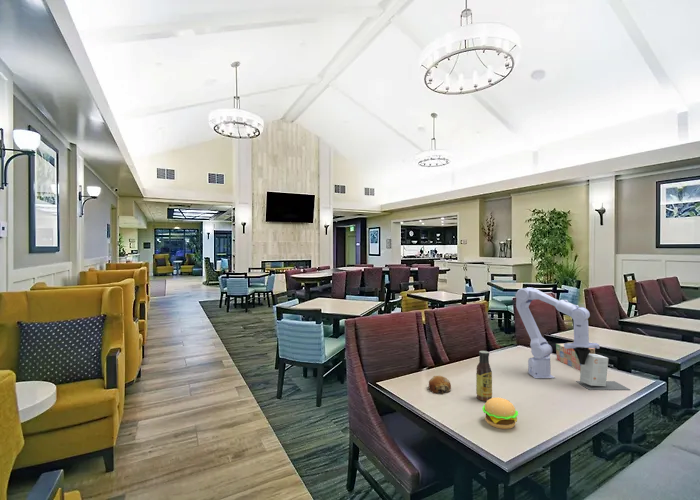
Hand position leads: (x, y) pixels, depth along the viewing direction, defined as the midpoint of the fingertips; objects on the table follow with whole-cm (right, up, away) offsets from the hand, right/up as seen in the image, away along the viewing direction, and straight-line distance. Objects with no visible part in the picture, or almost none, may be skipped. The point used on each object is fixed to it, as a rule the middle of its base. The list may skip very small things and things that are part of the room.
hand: (582, 364), depth 158 cm
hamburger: (-52, -11, -33) cm, 62 cm away
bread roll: (-66, -12, -1) cm, 67 cm away
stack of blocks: (+15, -10, +28) cm, 33 cm away
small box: (+4, -9, 0) cm, 10 cm away
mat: (+9, -10, -1) cm, 13 cm away
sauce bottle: (-49, -11, -12) cm, 52 cm away
